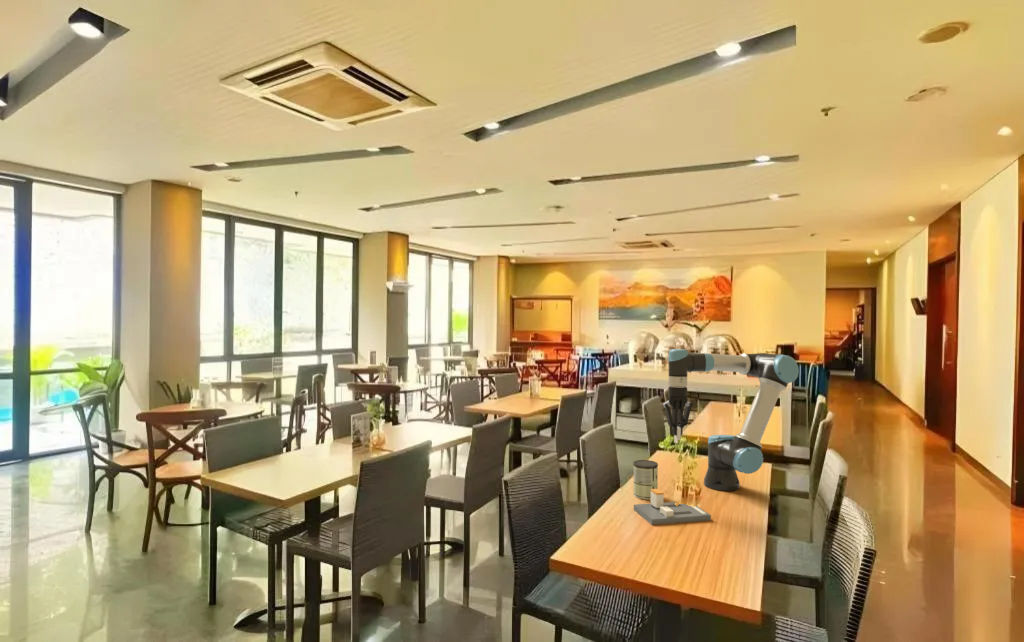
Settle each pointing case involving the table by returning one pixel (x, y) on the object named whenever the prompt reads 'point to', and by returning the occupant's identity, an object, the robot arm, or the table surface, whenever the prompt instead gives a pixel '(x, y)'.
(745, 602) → the table surface
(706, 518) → the panel
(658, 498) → the handle
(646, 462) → the coffee can
